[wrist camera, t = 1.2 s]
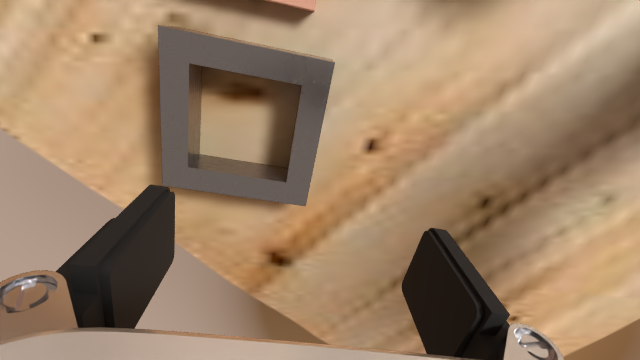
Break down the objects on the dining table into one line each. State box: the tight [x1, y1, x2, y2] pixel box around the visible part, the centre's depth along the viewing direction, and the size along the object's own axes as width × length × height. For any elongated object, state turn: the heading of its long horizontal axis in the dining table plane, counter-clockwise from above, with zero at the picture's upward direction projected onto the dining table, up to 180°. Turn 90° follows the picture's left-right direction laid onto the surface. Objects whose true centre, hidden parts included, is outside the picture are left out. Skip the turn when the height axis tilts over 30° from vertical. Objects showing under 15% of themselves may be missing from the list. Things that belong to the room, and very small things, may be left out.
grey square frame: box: [158, 25, 335, 206], centre depth 24 cm, size 12×12×3 cm
